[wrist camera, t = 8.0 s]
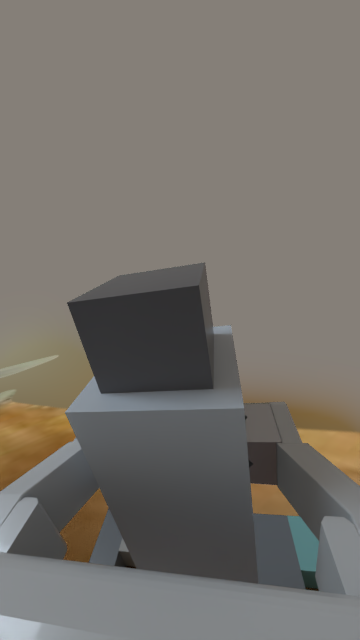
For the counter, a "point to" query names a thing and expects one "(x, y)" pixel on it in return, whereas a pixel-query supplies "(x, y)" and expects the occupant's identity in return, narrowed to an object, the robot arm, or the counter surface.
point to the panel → (270, 540)
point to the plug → (166, 423)
